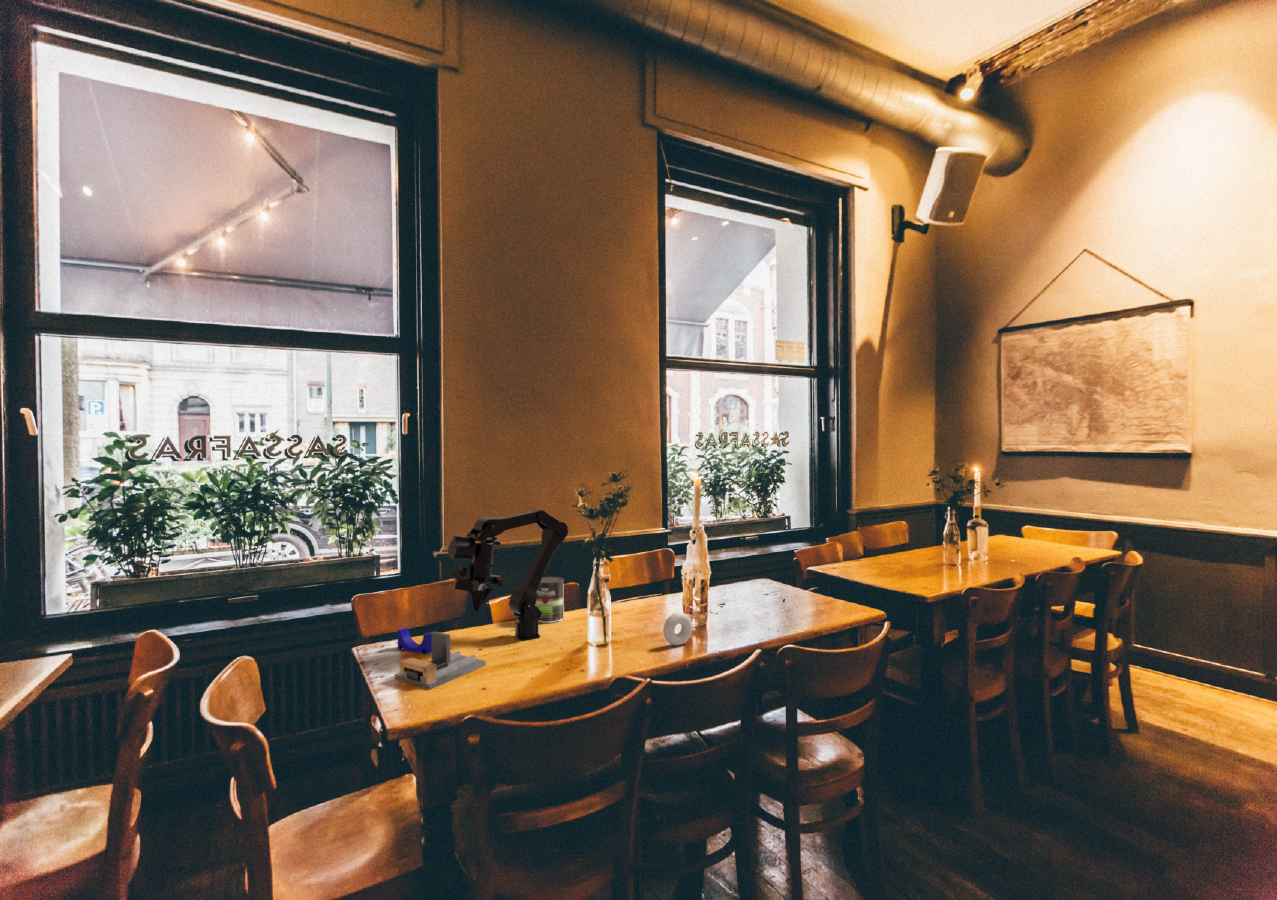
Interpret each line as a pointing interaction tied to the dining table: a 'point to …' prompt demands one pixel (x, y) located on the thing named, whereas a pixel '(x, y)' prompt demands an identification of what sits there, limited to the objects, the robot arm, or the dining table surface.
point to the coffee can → (550, 599)
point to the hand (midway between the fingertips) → (476, 611)
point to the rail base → (438, 670)
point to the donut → (670, 626)
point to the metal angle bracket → (435, 653)
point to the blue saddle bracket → (410, 645)
